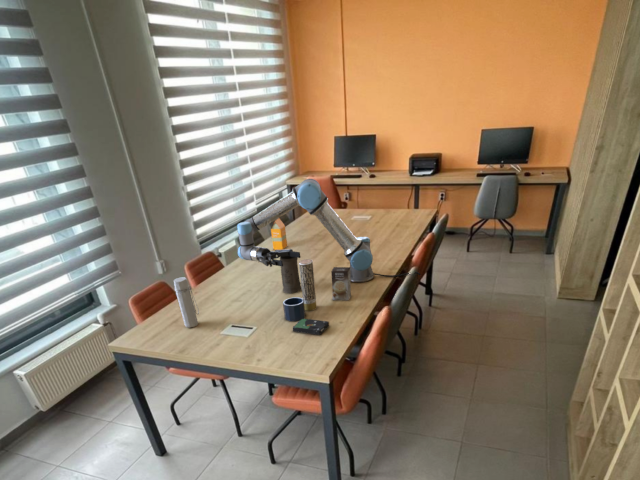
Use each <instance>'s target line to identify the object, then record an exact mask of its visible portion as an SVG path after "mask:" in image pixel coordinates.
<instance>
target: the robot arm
mask: <svg viewBox="0 0 640 480" xmlns="http://www.w3.org/2000/svg"><path fill="white" fill-rule="evenodd" d="M297 207H301V208H302V209H305V210H306V211H307V213H309V215H310V216H315V217H316V219H318V221H319V222H320V223H321V224H322V225H323V227H324V228H325V229H326V231H327V232H328V233H329V234H330V235H331V237H333V239H334V240H335V241H336V242H337V244H338V245H339V246H340V247H341V248H342V250H343V255H344V257H345V258H346V259H347V260H348V261H349V267H350V280H351V283H354V284H360V283H367V282H369V281H372V280H373V279H374V277H375V276H379V277H387V278H396V277H397V278H399V277H403V276H406V275H407V276H409V275H410V274H409V273H410V272H406V273H402V274H401V273H400V274H380V273H375V272H374V271H373V268H372V264H373V260H374V257H373V256H374V255H373V253H372V250H371V239H370V237H368V236H358V237H356V236H355V235H354V234H353V232H352V231H351V230H350V229H349V228H348V226H347V225H346V224H345V222H344V221H343V220H342V219H341V217H340V216H339V214H337V213H336V211H335V210H334V209H333V207H332V206H331V205H330V204H329V197H327V195H326V194H325V192H324V190H322V187H321V185H320V183H319V181H318V180H316V179H315V178H307V179H304V180H303V181H301V182H300V183H299V184H298V185H297V186H295V187H294V188H292V190H291V192H290V193H288V194H287V195H285V196H283V197H282V198H280V199H279V200H277V201H275V202H274V203H272V204H270V205H269V206H268V207H266V208H265V209H263V210H261V211H260V212H258V213H256V214H255V215H254V216H251V218H247V219H246V220H244V221H241V222H240V223H237V225H236V227H237V233H238V240H239V243H240V246H239V247H238V248H237V255H238V257H239V258H240V259H242V260H244V261H251V262H252V261H253V262H257V263H261V264H263V265H264V266H265V267H270V268H272V267H273V266H275V267H281V266H283V262H282V261H281V260H280V257H284V256H290V257H297V258H298V259H300V258H301V252H300V251H293V248H289V249H283V250H271V249H269V248H268V247H262V246H255V241H254V239H255V238H254V235H255V234H256V233H257V232H258V231H260V230H261V229H263V228H265V227H266V226H268V225H270V224H271V223H274V222H275V220H277V219H278V218H281V217H283V216H284V215H286V214H288V213H289V212H291V211H292V210H294V209H295V208H297ZM414 272H415V273H414V274H416V275H419V276H422V274H421V273H420V272H418V271H414ZM408 274H409V275H408ZM414 274H413V275H414Z"/></svg>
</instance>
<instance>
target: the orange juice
mask: <svg viewBox="0 0 640 480" xmlns="http://www.w3.org/2000/svg"><path fill="white" fill-rule="evenodd" d="M270 234H271V242H272V248H273V251H275V250H285V249H286V248H287V247H288V241H287V240H288V239H287V232H286V225H285V223H284V222H283V221H282V220H281V217H279V218H278V219H276V220H274V221H273V224H272V226H271V228H270Z"/></svg>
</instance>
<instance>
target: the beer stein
mask: <svg viewBox="0 0 640 480" xmlns="http://www.w3.org/2000/svg"><path fill="white" fill-rule="evenodd" d="M298 259H299V258H297V257H290V256H284V257H279V260H281V261H282V262H283V266H280V275H281V283H282V291H283V293H285V294H297V293H299V292H300V291H302V287H301V278H300V272H299V263H298Z"/></svg>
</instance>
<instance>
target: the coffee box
mask: <svg viewBox="0 0 640 480" xmlns="http://www.w3.org/2000/svg"><path fill="white" fill-rule="evenodd" d="M330 272H331V273H330V274H331V289H332V290H331V291H332V301H350V299H351V297H352V284H351V283H352V282H351V280H350V266H349V267H348V266H333V268H332V269H331V271H330Z"/></svg>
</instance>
